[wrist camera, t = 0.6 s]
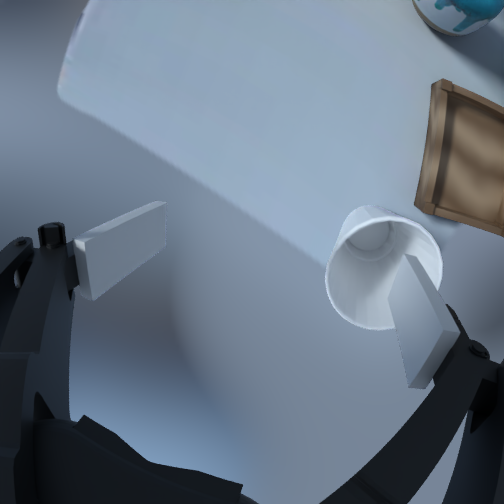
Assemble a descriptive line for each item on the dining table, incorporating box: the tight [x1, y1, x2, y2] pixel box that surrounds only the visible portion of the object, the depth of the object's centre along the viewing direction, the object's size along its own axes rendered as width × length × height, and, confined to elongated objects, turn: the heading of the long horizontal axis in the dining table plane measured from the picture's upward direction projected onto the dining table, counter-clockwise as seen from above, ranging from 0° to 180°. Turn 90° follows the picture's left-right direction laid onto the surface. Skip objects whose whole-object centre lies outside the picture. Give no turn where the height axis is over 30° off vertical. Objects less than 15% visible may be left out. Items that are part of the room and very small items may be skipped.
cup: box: [325, 205, 443, 330], centre depth 31 cm, size 12×12×16 cm
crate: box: [414, 79, 504, 237], centre depth 28 cm, size 18×16×5 cm
